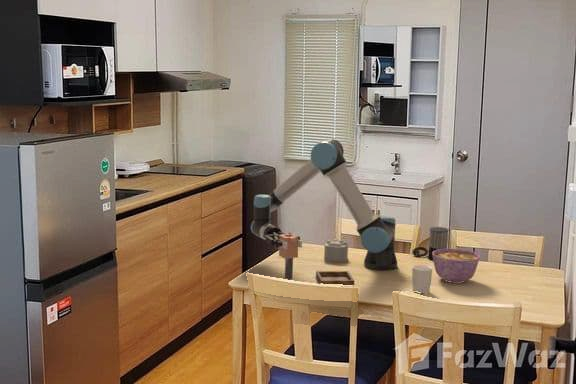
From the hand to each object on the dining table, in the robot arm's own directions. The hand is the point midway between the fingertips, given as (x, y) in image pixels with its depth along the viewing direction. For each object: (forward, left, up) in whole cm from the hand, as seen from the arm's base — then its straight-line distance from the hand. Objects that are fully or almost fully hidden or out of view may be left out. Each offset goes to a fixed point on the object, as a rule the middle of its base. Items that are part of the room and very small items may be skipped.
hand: (293, 245), depth 299 cm
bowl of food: (-70, 0, -16) cm, 71 cm away
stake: (+1, -5, -16) cm, 16 cm away
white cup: (-51, +15, -16) cm, 55 cm away
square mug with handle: (+2, -5, -6) cm, 8 cm away
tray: (-18, 0, -16) cm, 24 cm away
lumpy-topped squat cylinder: (-25, -37, -16) cm, 47 cm away
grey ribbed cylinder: (-70, -37, -16) cm, 81 cm away
